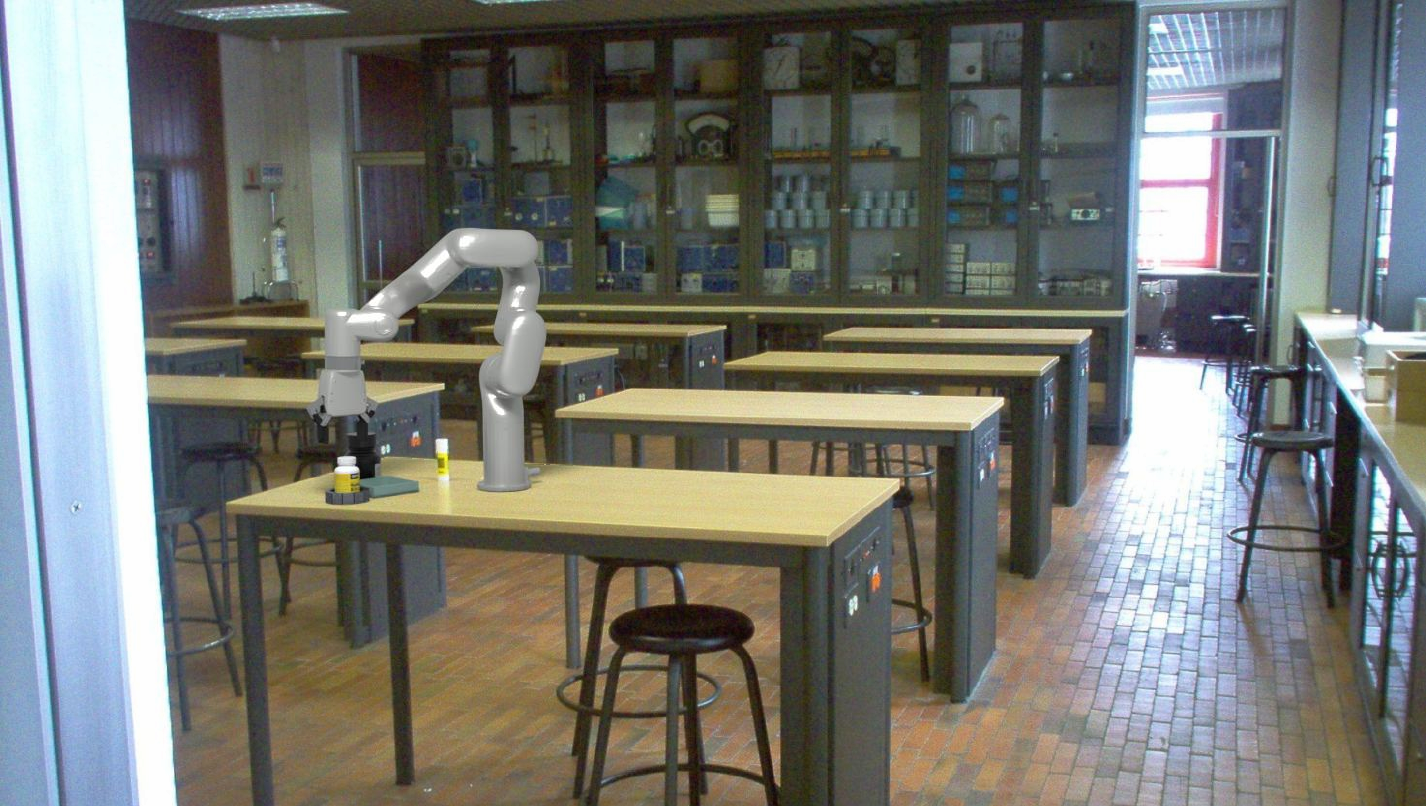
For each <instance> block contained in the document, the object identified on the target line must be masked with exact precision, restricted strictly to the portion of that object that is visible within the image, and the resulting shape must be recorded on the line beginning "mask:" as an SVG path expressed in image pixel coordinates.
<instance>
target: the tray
mask: <svg viewBox="0 0 1426 806" xmlns="http://www.w3.org/2000/svg"><path fill="white" fill-rule="evenodd" d="M419 485H420V484H419V481H418V480H415V479H410V478H409V479H408V478H404V477H403V478H402V477H398V476H393V475H382V477H374V478H367V479H360V486H362V487H367V488H369V492H370V499H372V500H373V499H381V498H387V497H388V498H389V497H395V496H400V495H407V494H413V493H414V494H415V493H419V491H420V489H419V488H420V486H419Z"/></svg>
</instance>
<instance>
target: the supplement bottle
mask: <svg viewBox="0 0 1426 806" xmlns="http://www.w3.org/2000/svg"><path fill="white" fill-rule="evenodd" d="M336 462H337V465H338V466H337V467H335V469H334V473H333V475H334V478H333V479H334V488H335V493H350V492H359V491H360V473H359V468H358V467H356V466H355V464H356V457H353V456H339V457H337V461H336Z"/></svg>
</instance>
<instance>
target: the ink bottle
mask: <svg viewBox="0 0 1426 806" xmlns="http://www.w3.org/2000/svg"><path fill="white" fill-rule="evenodd" d="M346 449H347V450H348V451H347V452H346V453H345V454H344V456H353V457H356V464H355V466H356V467H358V468H359V473H360V479H367V478H374V477H382V476H383V475H382V457H381V454H380V453H378V452H377V450H375V449H377V433H376V432H373V431H371V432H370V431H368V436H367V441H362V440H358V439H357V431H356V432H349V433H346ZM344 456H343V457H344Z"/></svg>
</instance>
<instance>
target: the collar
mask: <svg viewBox="0 0 1426 806" xmlns="http://www.w3.org/2000/svg"><path fill="white" fill-rule="evenodd" d="M324 491H325V493H324V494H325V495H324V496H325V499H324V501H325V503H326V504H328V505H335V506H336V505H337V506H347V505H348V506H349V505H350V506H351V505H359V504H364V503H367V502H370V501H371V498H370V492H369V488H367V487H362V486H360V491H359V492H350V493H335V487H331V488H330V487H329V488H327V489H324Z"/></svg>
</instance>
